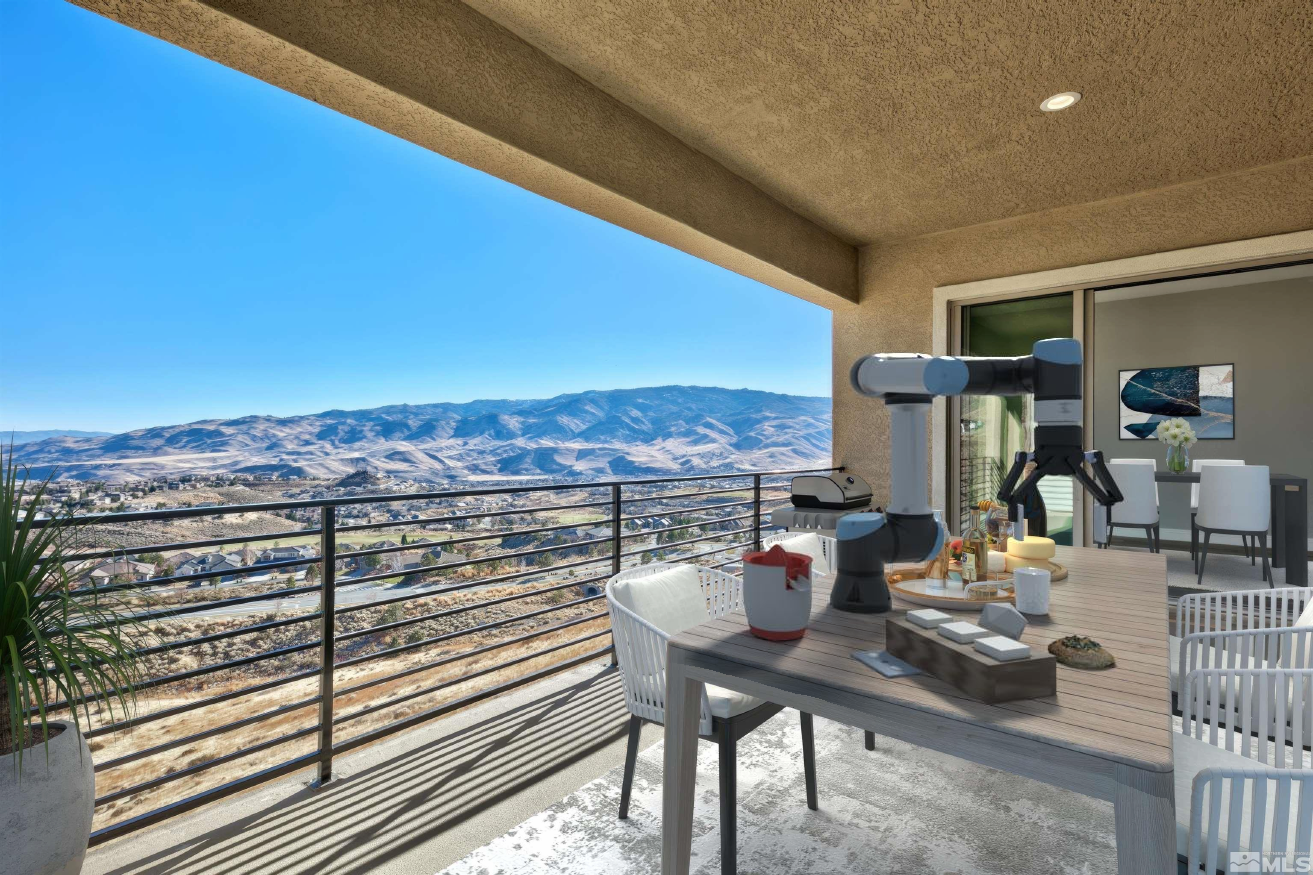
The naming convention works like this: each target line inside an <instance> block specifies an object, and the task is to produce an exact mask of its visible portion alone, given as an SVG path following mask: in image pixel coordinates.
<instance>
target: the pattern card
mask: <svg viewBox="0 0 1313 875" xmlns="http://www.w3.org/2000/svg"><path fill="white" fill-rule="evenodd" d="M850 656H851V657H852V658H855V660H858V661H860V662H861V663H863V664H865V665H867V666H868V667H869V668H871V669H873V670H875V671H877V672H878V673H879V674H882V675H883V676H885V677H886V678H889V679H891V678H899V677H906V676H912V675H913V676H914V675H920V674H922V671H921V670H920V669H918V668H917V667H914V666H912V664H911V665H910V663H909V664H908V662H904V661H903V660H901V659H899V658H898V657H895V655H893V654H890V653H888V652H887V651H884V650H882V649H877V650H868V651H859V652H853V653H850Z"/></svg>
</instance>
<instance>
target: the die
mask: <svg viewBox="0 0 1313 875" xmlns="http://www.w3.org/2000/svg"><path fill="white" fill-rule="evenodd" d="M1028 621H1029V620H1027V619H1026V618H1025V617H1024V616H1023V615H1022V614H1021V613H1020V611H1018V610H1017V609H1016V607H1015V606H1014V605H1013V604H1012V603H1011V602H986V603H985V606H984V608H983V610H982V612H981V615H980V617H979V619H978V622H977V623H976V625H977V626H980V627H982V628H985V629H987V630H990V631H992V632H995V633H998V634H1000V635H1003V636H1005V637H1008V638H1011V639H1013V640H1016V641H1018V642H1020V640H1021V637H1022V636H1023V633H1024V630H1025V629H1026V627H1027V625H1028Z"/></svg>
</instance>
